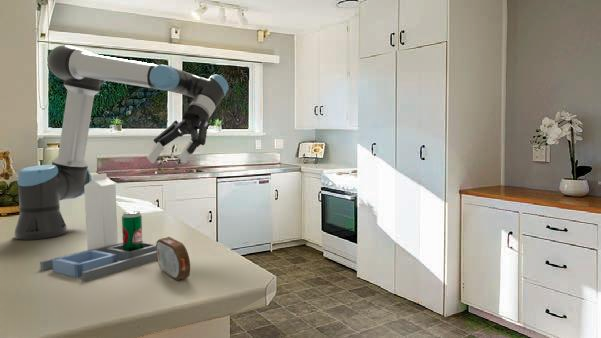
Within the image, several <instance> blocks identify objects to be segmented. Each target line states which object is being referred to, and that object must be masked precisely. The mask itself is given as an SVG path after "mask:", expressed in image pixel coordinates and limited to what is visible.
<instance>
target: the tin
mask: <svg viewBox="0 0 601 338" xmlns="http://www.w3.org/2000/svg"><path fill="white" fill-rule="evenodd" d="M155 244H156V249H157V260H156V261H157V264H158V266H159V269H160V270H161V271H162V272H163V274H166V275H167V276H169V277H170V278H172V279H173V280H174V281H180V280H182V279H183V280H184V279H189V276H190V275H191V261H190V255H189V252H188V250H187V248H186V245H184V243H183V242H181V241H179V240H177V239H175V238H173V237H171V236H167V237H163V238H159V239H158V240H157V241H156V243H155Z"/></svg>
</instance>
